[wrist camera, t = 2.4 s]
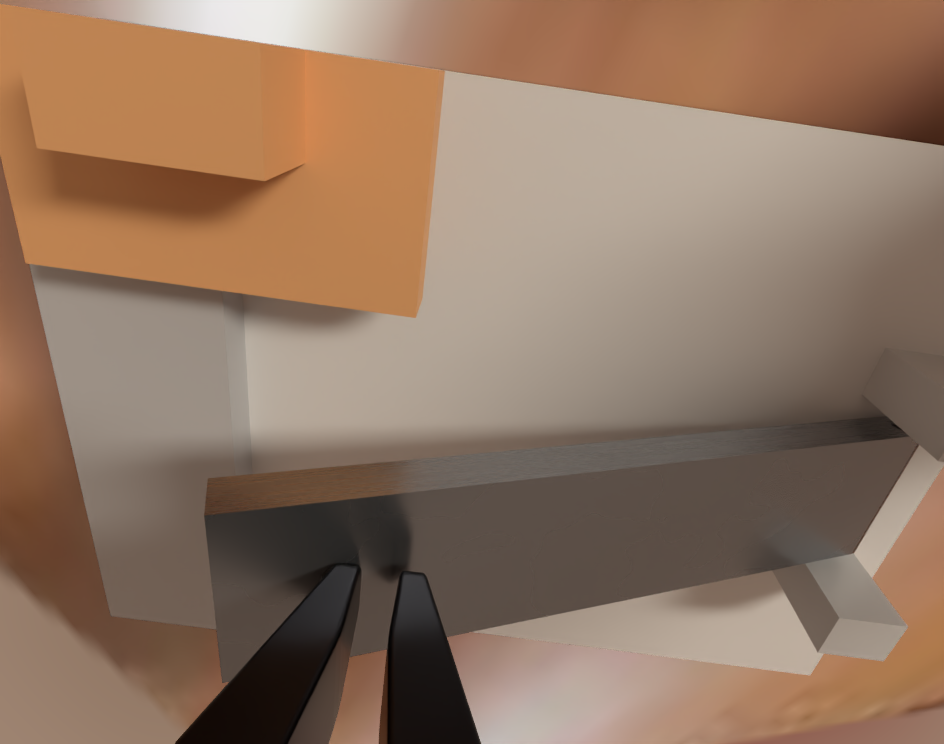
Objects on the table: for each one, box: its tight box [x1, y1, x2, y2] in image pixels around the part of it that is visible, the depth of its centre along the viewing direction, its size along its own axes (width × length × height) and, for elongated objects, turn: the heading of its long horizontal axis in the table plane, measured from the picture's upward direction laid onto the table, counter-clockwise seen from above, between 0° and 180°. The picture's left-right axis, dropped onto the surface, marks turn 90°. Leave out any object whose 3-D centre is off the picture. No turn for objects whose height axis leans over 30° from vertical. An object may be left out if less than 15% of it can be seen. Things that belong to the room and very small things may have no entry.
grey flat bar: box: [204, 416, 919, 683], centre depth 11 cm, size 15×4×1 cm, turn 83°
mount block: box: [5, 4, 944, 675], centre depth 14 cm, size 21×15×6 cm
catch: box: [0, 4, 445, 318], centre depth 9 cm, size 7×4×3 cm, turn 82°
